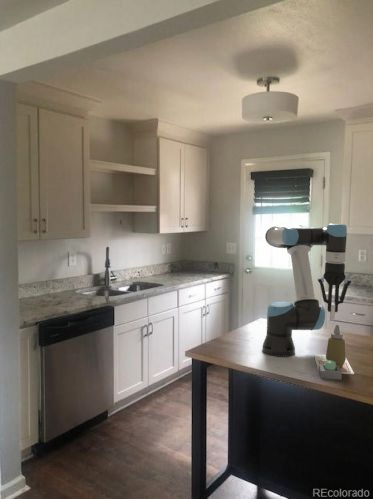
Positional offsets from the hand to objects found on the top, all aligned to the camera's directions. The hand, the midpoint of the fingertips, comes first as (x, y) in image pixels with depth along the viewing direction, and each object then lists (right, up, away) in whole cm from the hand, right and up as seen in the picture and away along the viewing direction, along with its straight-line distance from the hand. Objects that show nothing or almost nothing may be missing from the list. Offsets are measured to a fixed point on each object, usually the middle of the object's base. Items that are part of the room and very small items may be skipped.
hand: (332, 319), depth 172 cm
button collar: (-1, -23, 0) cm, 23 cm away
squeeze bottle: (+4, -22, +9) cm, 24 cm away
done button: (-1, -22, 0) cm, 22 cm away
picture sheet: (+5, -22, +13) cm, 26 cm away
